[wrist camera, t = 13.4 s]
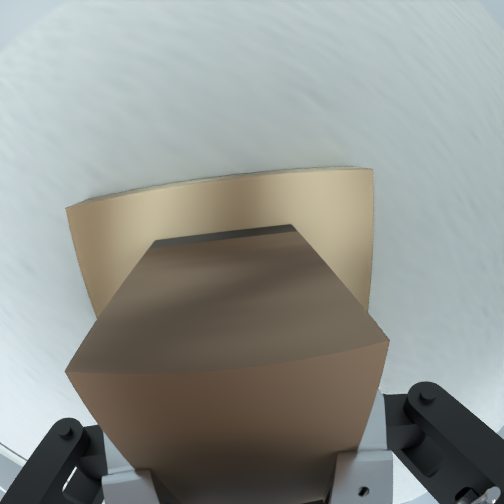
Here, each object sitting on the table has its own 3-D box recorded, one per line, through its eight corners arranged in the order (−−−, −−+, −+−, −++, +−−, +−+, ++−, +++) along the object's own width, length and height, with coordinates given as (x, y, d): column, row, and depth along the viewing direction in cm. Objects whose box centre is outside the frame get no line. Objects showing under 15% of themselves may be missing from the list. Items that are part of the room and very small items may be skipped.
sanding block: (291, 224, 10) (390, 340, 4) (295, 395, 13) (328, 513, 7) (154, 240, 10) (64, 371, 3) (200, 406, 13) (195, 527, 6)
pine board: (351, 166, 12) (373, 169, 10) (329, 449, 19) (335, 467, 17) (86, 199, 11) (65, 208, 9) (189, 466, 19) (188, 485, 17)
